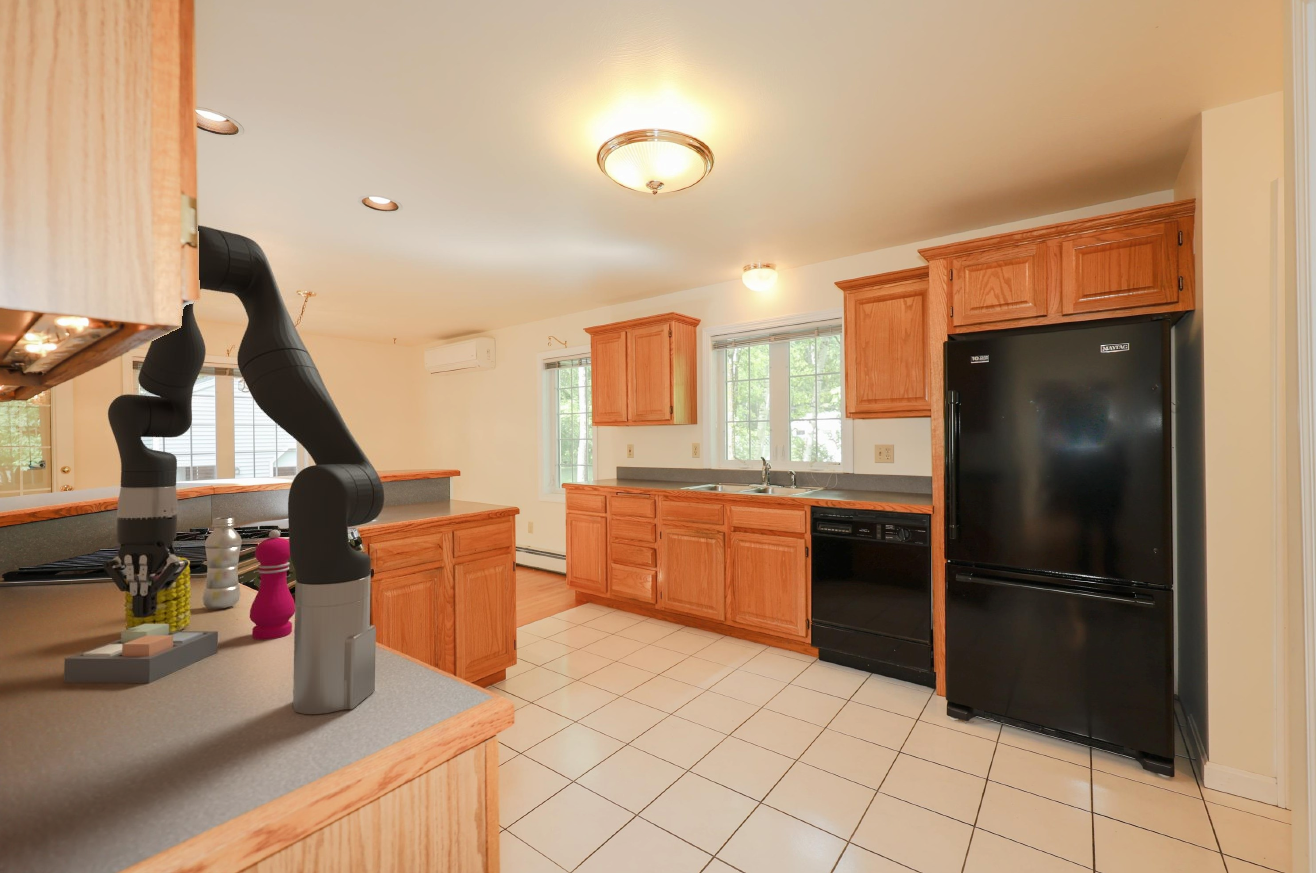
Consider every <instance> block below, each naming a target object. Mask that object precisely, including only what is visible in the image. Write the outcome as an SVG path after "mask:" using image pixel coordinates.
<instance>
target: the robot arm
mask: <svg viewBox="0 0 1316 873" xmlns="http://www.w3.org/2000/svg"><path fill="white" fill-rule="evenodd" d="M197 225H198V224H197ZM198 231H199V280H200V290H206V291H214V292H220V293H227V294H232V295H234V296H236V297H237V298H238V299H239V301H240V302H241V303H242V305H243V309H244V310H245V313H246V315H247V319H248V320H247V321H248V323H247V327H246V329H245V331H244V334H243V337H242V339H241V342H240V345H239V347H238V350H237V351H238V352H237V356H236V357H237V360H236V361H237V367H238V370H239V372H240V375H241V376H242V379H243V380H244V383H245V385H246V386H247V389H248V391H249V392H250V395H251V397H252V398H253V400H254V403H255V404H256V405H257V406H258V407H259V409H260V410H261V411H262V412H263V413H264V414H265V415H266V416H267V417H268V418H269V419H270V420H272V421H273V422H274V423H275V424H276V425H278V426H279V427H280V428H281V429H282V430H284V432H286V433H287V434H289V435H290V436H291V437H292V438H293V439H294V440H295V441H296V442H298V443H299V444H300V445H301V446H302V447H303V448H304V450H306V452H307V453H308V454H309V456H310V457H311V459H312V460H313V462H314V463H315V465H314V464H313V465H309V466H307V467H305V468H303V469H301V471H299V472H297V474H296V476H294V479H293V480H292V482H291V484H290V489H289V493H288V498H287V518H288V519H287V522H288V541H289V549H290V559H291V562H292V565H293V567H294V571H295V587H294V588H295V589H294V590H295V591H294V592H295V593H294V596H295V597H294V603H295V613H294V635H293V636H294V638H293V639H294V642H293V643H294V645H293V687H292V688H293V690H292V696H293V697H292V709H293V710H294V711H295V712H297V713H300V714H305V715H320V714H328V713H333V712H339V711H343V710H352V709H354V708H355V707H357V706H358V705H360V703H362V702H363V701H364V700H365V699H367V698H368V697H369V696H370V695H371V694H372V693H374V692H375V690H376V651H377V650H376V648H377V646H376V643H377V642H376V639H377V632H376V631H377V627H376V626H375V625H373V624H370V623H371V619H370V618H371V616H370V615H371V571H372V569H371V568H372V562H371V561H372V560H371V557H370V555H369V554H368V553H366V552H363V551H360V550H356V549H354V548H353V547H352V546H351V544H350V542H349V541H350V540H349V531H348V528H350V527H356V526H361V525H365V524H369V523H371V522H373V521H375V519H377V518H378V517H379V515H380V513H382V511H383V507H384V503H385V493H384V492H385V491H384V487H383V483H382V479H381V478H380V476H379V474H378V472H377V470H376V469H375V467H374V465H373V464H372V463H371V462H370V460H369V458H368V457H367V455H366V454H365V452H364V451H363V449H362V448H361V446H360V444H359V443H358V442H357V441H356V439H355V437H354V436H353V434H352V433H351V432H350V429H349V428H348V426H347V425H346V422H345V421H344V419H343V417H342V415H341V414H340V411H339V409H338V408H337V406H336V404H335V402H334V400H333V398H332V397H331V395H330V393H329V391H328V389H327V387H326V385H325V382H324V381H323V379H322V376H321V373H320V372H319V370H318V368H317V366H316V364H315V362H314V360H313V359H312V356H311V354H310V352H309V351H308V349H307V347H306V346H305V344H304V342H303V340H302V338H301V336H300V334H299V333H298V330H297V328H296V326H295V324H294V322H293V320H292V318H291V316H290V313H289V311H288V309H287V307H286V305H285V302H284V300H283V296H282V295H281V291H280V289H279V286H278V283H277V281H276V280H277V279H276V277H275V274H274V272H273V270H272V267H271V265H270V262H269V260H268V257H267V255H266V254H265V252H264V250H263V249H262V247H261V246H260V245H259V244H258V242H256V241H255V240H253V239H252V238H249V237H247V236H244V235H241V234H238V233H234V232H228V231H224V230H221V229H217V228H213V227H210V226H209V227H208V226H205V225H198ZM194 304H195V302H194V303H193V304H189V305H186V306H185V307H184V309H183V316H182V326H181V328H179V329H177V330H175V331H172V332H170V333H169V334H167V335H164V336H162V337H160V338H158V339H156V340H154V341H152V340H151V342H150V345H149V348H148V350H147V352H146V355H145V357H144V359H143V362H142V365H141V368H140V370H139V372H138V373H139V374H138V378H137V379H138V380H137V381H138V384H139V386H140V387H141V388H142V389H143V390H145V391H146V392H148V393H149V394H152V395H146V394H145V395H142V394H133V393H132V394H121V395H119V396H117V397H115V398H114V400H112V402H111V403H110V405H109V407H108V410H107V417H108V418H107V419H108V423H109V426H110V429H111V431H112V434H113V437H114V439H115V440H114V441H115V442H116V445H117V450H118V454H119V459H120V470H121V471H120V490H119V495H118V498H117V511H116V512H117V513H116V516H117V518H116V520H117V521H116V539H115V540H116V543H118V544H119V545H120V546H119V548H118V551H117V556H115V557H114V558H113V559H111V560H107V561H104V562H103V563H102V567H103V568H104V570H105V571H106V572H107V574H108V576H109V577H110V578H111V580H112V581H113V582H114V584H115V585H116V587H117V588H118V589H119V591H120V592H125V591H127V592H129V593H130V594H131V595H132V596H133V601H132V607H133V608H132V612H133V614H134V617H135V618H146V617H149V616H152V615H153V614H154V612H155V611H156V607H157V606H156V605H157V593H158V592H159V591H161V590H164V589H168V588H170V586H171V585H172V584H173V583H174V582H175V580H176V579H177V578H178V577H179V575H180V574H181V573H182V572H183V571H184V569H185V568H186V567H187V566H188V561H187V560H188V559H187V560H182V561H181V560H180V559H179V558H178V557H179V556H177V555H176V549H175V547H174V544H173V542H174V540H176V538H177V529H178V528H177V526H178V503H179V502H178V501H179V500H178V493H177V474H178V473H177V472H178V462H177V461H178V460H177V457H176V455H175V454H173V453H171V452H168V451H162V450H156V449H152V448H148V447H147V446H146V444H145V443H144V441H143V439H142V438H178V437H180V436H182V435H184V434H185V433H186V432H188V431H189V429H190V428H191V427H192V426H191V425H192V424H193V422H192V421H193V410H192V400H193V392H194V387H195V384H196V382H197V379H198V378H199V375H200V372H201V370H202V368H203V366H204V363H205V359H206V345H205V340H204V338H203V335H202V332H201V330H200V328H199V325H198V323H197V320H196V318H195V314H194ZM137 574H139V575H137ZM126 581H127V582H128V583H127V582H126ZM139 581H140V582H141V584H140V583H139ZM151 581H152V582H151ZM150 585H151V586H150Z"/></svg>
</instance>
